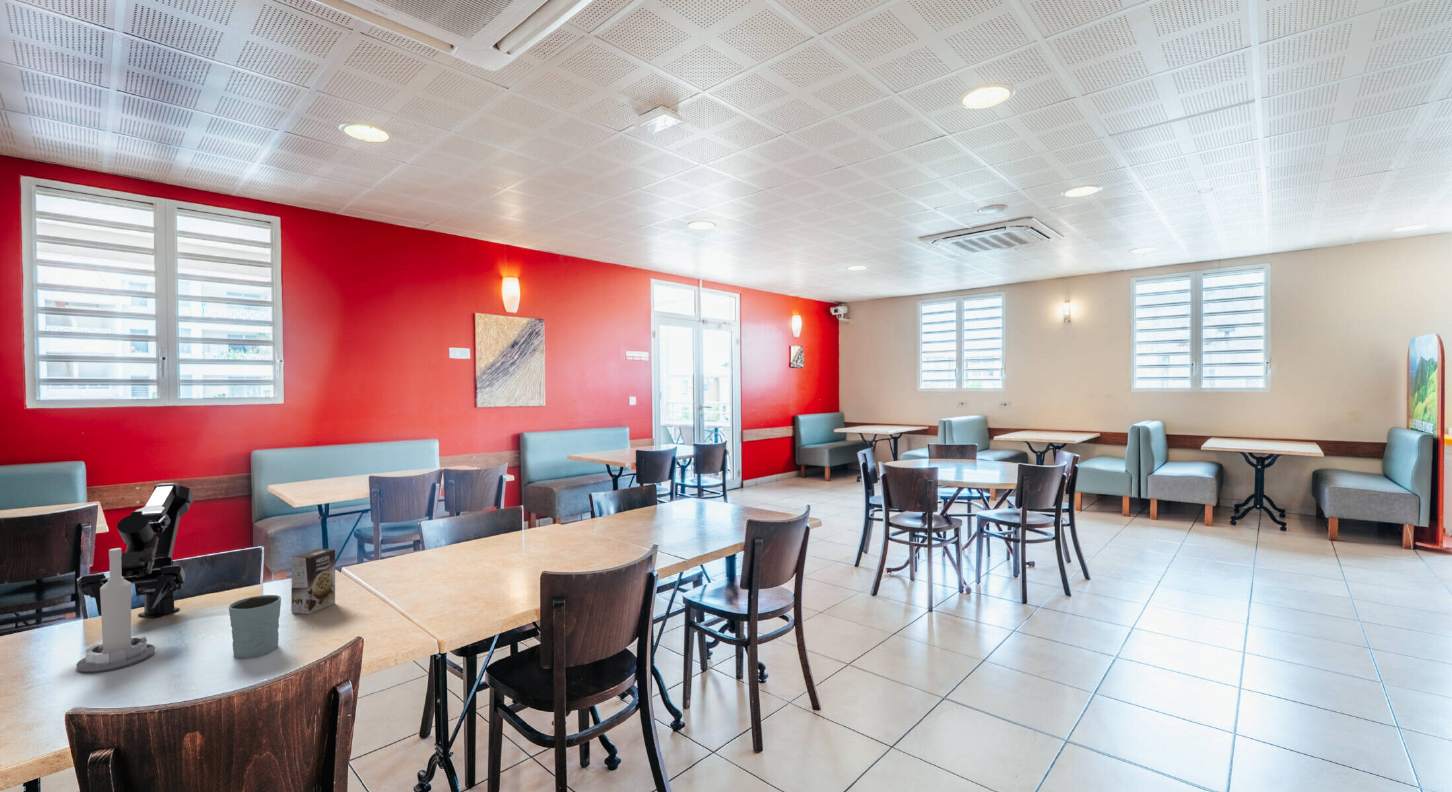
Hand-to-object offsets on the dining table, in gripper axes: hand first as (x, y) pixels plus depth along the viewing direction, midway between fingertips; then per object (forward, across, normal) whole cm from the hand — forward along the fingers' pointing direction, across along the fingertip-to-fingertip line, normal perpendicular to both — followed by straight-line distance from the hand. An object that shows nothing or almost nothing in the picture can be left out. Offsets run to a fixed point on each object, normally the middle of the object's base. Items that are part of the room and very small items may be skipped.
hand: (126, 611), depth 148 cm
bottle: (+11, 0, +1) cm, 11 cm away
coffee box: (0, +37, +14) cm, 40 cm away
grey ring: (+11, 0, +2) cm, 11 cm away
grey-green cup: (+18, +27, -5) cm, 33 cm away
